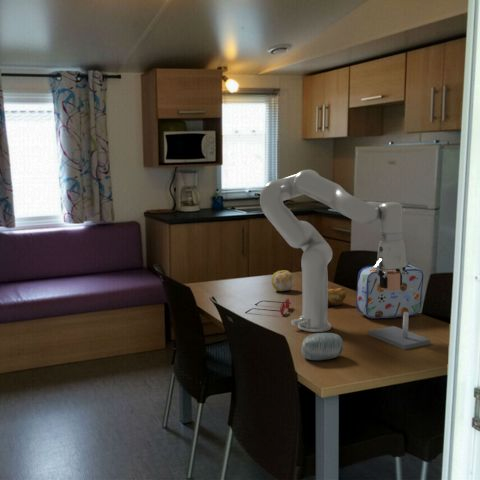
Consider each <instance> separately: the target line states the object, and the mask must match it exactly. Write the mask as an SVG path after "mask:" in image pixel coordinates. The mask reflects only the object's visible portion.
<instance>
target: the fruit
mask: <svg viewBox="0 0 480 480" xmlns="http://www.w3.org/2000/svg"><path fill="white" fill-rule="evenodd" d="M271 284H272V285H271V286H272V287H273V289H275V290H276V291H277V292H286V291H289V290H291V289H292V288H293V287H294V285H295V277H294V275H293V273H291V272H290V271H289V270H285V269H284V270H277V271H276V272H273V274H272V276H271Z"/></svg>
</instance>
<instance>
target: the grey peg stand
mask: <svg viewBox="0 0 480 480" xmlns="http://www.w3.org/2000/svg"><path fill="white" fill-rule="evenodd" d="M409 317H410V316H409V313H408V312H404V313H403V317H402V328H400V327H398V326H395V325H391V326H387V327H383V328H382V327H381V328H377V329H372V330H368V336H370V337H373V338H375V339H378V340H380V341H383V342H384V343H387V344H388V345H389V344H390V345H391V346H395V347H397V348H399V349H401V350H409V349H413V348H418V347H419V348H420V347H423V346H427V345H430V344H431V339H429V338H427V337H424V336H421V335H418V334H416V333H414V332H411V331H409Z"/></svg>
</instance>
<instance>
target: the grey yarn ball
mask: <svg viewBox="0 0 480 480" xmlns="http://www.w3.org/2000/svg"><path fill="white" fill-rule="evenodd" d="M343 347H344V341H343V338H342V336H340V334H337V333H333V332H315V333H313V334H309V335H307V336H306V337H305V338H304V339H303V341H302V343H301V354H302V356H303V357H304V358H305V359H306V360H308V361H324V360H325V361H326V360H331V359H336V358H338V357H340V355H341V354H342V353H343V352H342V351H343Z"/></svg>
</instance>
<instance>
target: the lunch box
mask: <svg viewBox="0 0 480 480" xmlns="http://www.w3.org/2000/svg"><path fill="white" fill-rule="evenodd" d="M374 266H375V265H366V266H364V267H362V268H361V269H360V270H359V272H358V275H357V281H356V282H357V283H356V302H355V304H356V310H357V311H358V312H359V313H361V314H364V315H365V316H366V317H368V318H370V319H390V318H391V319H394V318H395V319H396V318H401V317H402V318H403V313H404V312H408V313H409V317H410V316H415V315H417V314H419V313H420V311H421V308H422V303H423V302H422V301H423V286H424V272H423V270H421V269H420V268H417V267H414V266H413V265H411V264H410V263H409V262H408V264H407V266H406V267H405V270H404V273H403V275H402V285H401V286H400V290H396V291H387V290H383V289H382V288H381V287H380V277H379V276H378V274H377V273H376V271H375V270H374V269H373V268H374ZM379 269H380V268H379ZM383 271H384V270H383ZM393 271H395V269H394V270H393Z"/></svg>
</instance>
